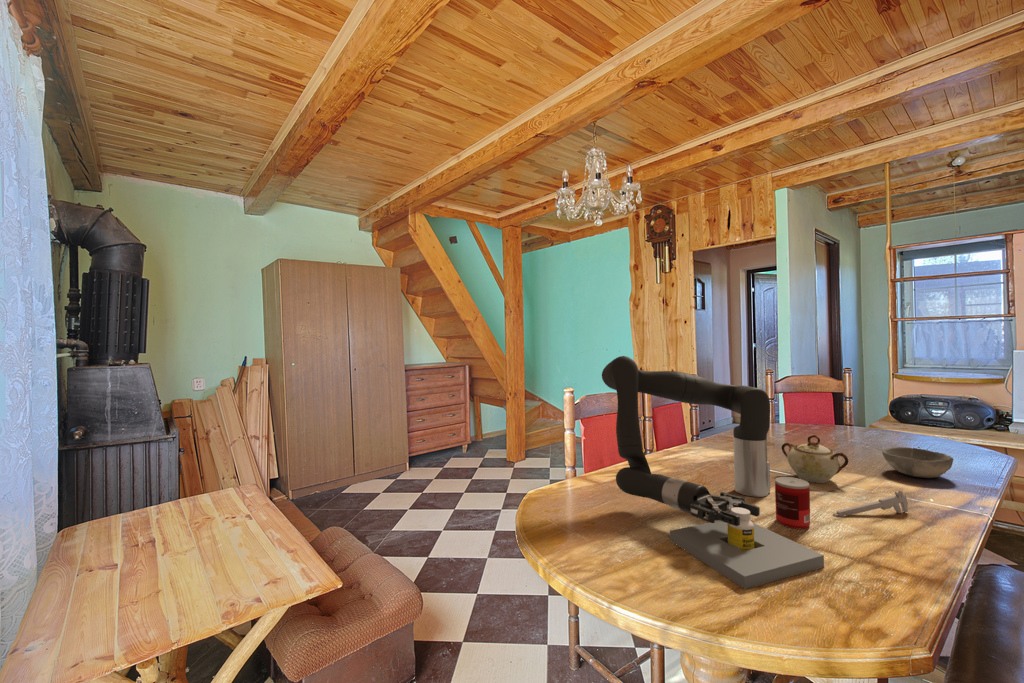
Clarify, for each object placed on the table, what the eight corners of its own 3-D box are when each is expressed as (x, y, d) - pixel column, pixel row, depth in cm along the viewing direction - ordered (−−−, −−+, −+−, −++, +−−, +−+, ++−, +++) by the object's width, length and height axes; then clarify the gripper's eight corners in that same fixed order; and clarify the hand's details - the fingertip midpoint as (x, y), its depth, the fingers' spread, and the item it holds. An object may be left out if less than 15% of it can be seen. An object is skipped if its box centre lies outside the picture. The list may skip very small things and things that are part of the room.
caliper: (904, 512, 120) (903, 490, 120) (908, 514, 119) (907, 491, 119) (832, 516, 119) (831, 493, 119) (835, 517, 118) (834, 494, 118)
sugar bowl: (857, 481, 144) (856, 436, 144) (839, 492, 136) (838, 443, 136) (791, 468, 161) (790, 427, 160) (772, 476, 152) (771, 433, 152)
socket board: (739, 525, 114) (739, 516, 114) (824, 566, 93) (823, 555, 93) (669, 541, 107) (669, 530, 107) (745, 589, 86) (744, 576, 86)
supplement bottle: (744, 561, 96) (743, 517, 96) (722, 550, 101) (721, 508, 101) (759, 555, 99) (758, 511, 99) (738, 545, 104) (736, 504, 104)
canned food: (805, 518, 117) (804, 477, 117) (814, 531, 110) (813, 487, 110) (772, 515, 120) (771, 475, 120) (779, 527, 112) (779, 485, 112)
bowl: (880, 465, 161) (879, 443, 161) (946, 472, 151) (946, 449, 151) (885, 478, 147) (885, 454, 147) (959, 487, 137) (958, 462, 137)
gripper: (667, 487, 108) (731, 507, 94) (701, 475, 116) (764, 492, 102) (668, 517, 108) (732, 542, 94) (701, 504, 116) (765, 524, 102)
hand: (749, 516), depth 98 cm, fingers open, 8 cm apart
